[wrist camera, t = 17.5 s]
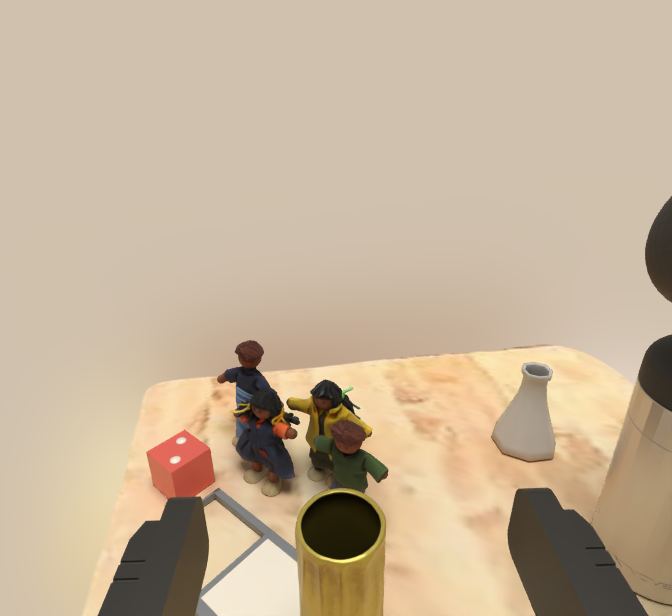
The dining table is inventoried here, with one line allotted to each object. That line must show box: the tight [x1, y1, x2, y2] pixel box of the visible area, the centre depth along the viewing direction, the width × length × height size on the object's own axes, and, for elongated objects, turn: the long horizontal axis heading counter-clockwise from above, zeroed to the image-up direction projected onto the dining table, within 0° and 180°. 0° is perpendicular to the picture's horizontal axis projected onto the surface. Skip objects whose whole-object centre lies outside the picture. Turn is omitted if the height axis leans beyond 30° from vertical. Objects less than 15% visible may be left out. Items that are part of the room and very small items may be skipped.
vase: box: [295, 488, 386, 616], centre depth 30 cm, size 6×6×14 cm
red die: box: [146, 430, 215, 499], centre depth 49 cm, size 4×4×5 cm
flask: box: [491, 362, 556, 461], centre depth 54 cm, size 7×7×10 cm
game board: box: [195, 488, 300, 616], centre depth 39 cm, size 9×24×1 cm, turn 50°
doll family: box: [217, 340, 388, 496], centre depth 49 cm, size 23×9×13 cm, turn 66°
